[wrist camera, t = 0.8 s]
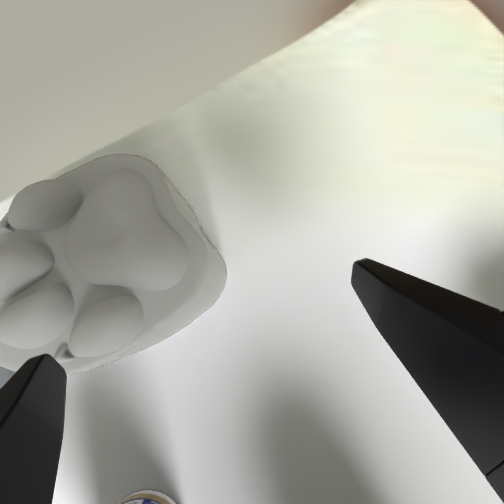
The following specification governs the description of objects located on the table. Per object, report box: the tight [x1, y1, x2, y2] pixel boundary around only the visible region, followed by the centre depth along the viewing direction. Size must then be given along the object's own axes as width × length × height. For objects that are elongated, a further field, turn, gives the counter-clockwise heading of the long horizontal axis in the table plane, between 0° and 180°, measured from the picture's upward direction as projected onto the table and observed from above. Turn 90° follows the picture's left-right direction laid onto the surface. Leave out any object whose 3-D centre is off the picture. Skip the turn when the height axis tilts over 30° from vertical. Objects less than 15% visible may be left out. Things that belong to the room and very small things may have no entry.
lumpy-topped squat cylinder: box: [0, 154, 227, 374], centre depth 17 cm, size 10×13×9 cm
